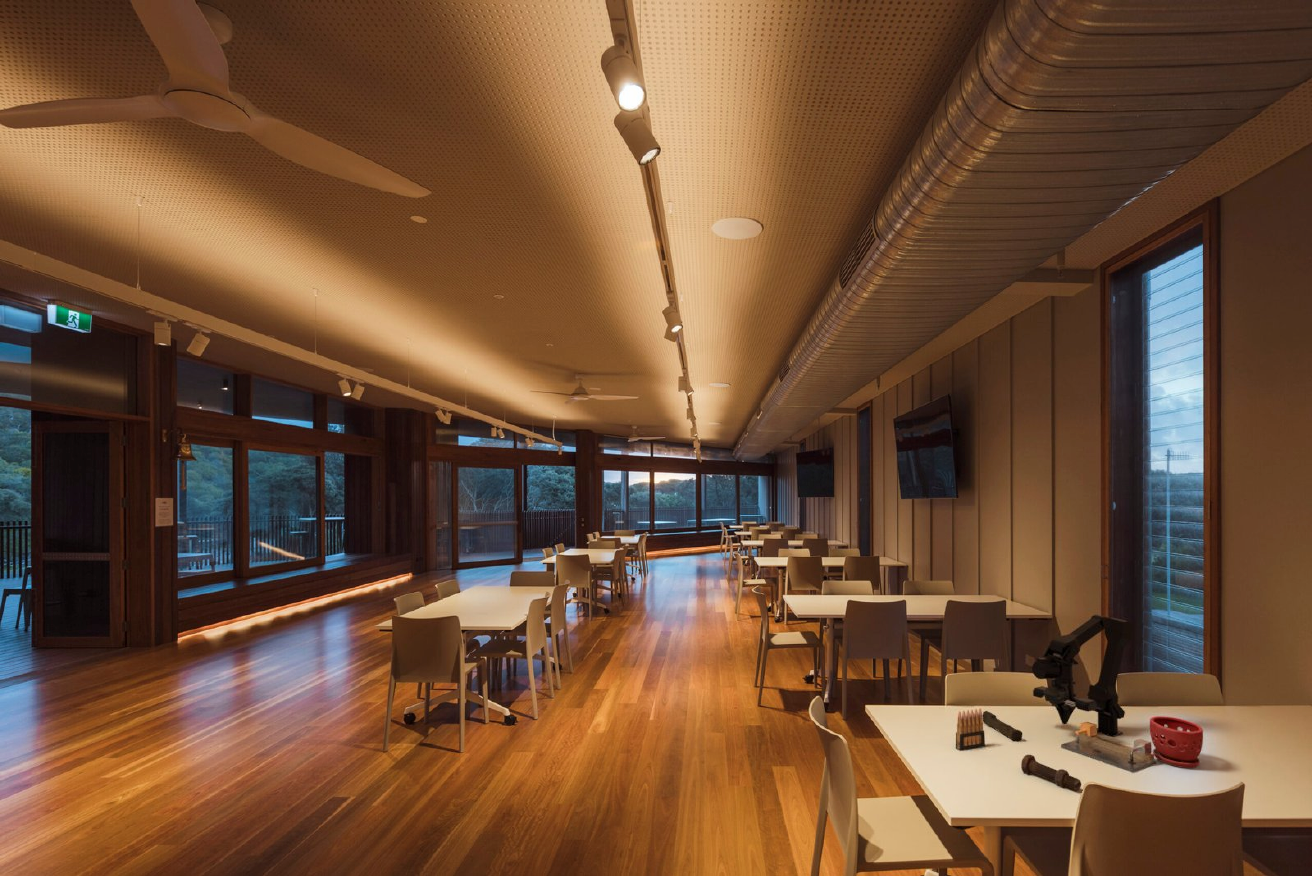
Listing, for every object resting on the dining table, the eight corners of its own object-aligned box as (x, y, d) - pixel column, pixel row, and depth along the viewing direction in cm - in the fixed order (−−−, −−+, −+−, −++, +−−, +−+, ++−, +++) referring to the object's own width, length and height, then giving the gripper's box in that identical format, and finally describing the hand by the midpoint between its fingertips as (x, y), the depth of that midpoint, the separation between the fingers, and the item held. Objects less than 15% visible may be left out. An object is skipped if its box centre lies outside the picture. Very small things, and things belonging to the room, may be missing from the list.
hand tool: (1023, 742, 223) (1023, 728, 223) (1011, 742, 223) (1011, 728, 223) (990, 722, 242) (990, 709, 242) (979, 722, 242) (979, 709, 242)
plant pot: (1141, 757, 212) (1140, 718, 212) (1167, 751, 217) (1165, 713, 218) (1187, 774, 200) (1186, 733, 200) (1213, 767, 205) (1212, 727, 206)
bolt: (1077, 800, 186) (1024, 777, 199) (1085, 787, 188) (1033, 765, 201) (1071, 783, 185) (1018, 761, 198) (1080, 771, 187) (1027, 750, 200)
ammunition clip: (980, 744, 220) (979, 707, 221) (985, 746, 218) (984, 708, 219) (955, 748, 216) (955, 710, 217) (960, 751, 214) (959, 712, 215)
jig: (1085, 740, 225) (1084, 721, 226) (1156, 763, 207) (1155, 743, 207) (1061, 747, 218) (1060, 728, 219) (1132, 772, 200) (1131, 751, 201)
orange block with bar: (1087, 737, 224) (1087, 721, 225) (1096, 740, 222) (1096, 724, 222) (1072, 741, 220) (1071, 725, 220) (1081, 745, 217) (1081, 728, 218)
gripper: (1023, 673, 234) (1023, 719, 233) (1078, 688, 218) (1079, 737, 217) (1041, 669, 240) (1042, 714, 239) (1097, 683, 223) (1098, 731, 222)
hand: (1064, 724), depth 229 cm, fingers closed
